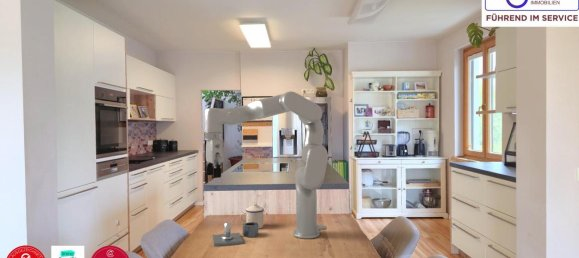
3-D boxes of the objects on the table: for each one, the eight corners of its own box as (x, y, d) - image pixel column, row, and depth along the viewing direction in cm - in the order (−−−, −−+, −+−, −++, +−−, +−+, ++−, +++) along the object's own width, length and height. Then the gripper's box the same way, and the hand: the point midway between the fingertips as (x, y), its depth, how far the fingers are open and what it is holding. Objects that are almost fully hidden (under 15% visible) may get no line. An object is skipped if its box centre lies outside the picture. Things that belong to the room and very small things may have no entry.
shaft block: (239, 235, 152) (239, 218, 152) (243, 243, 140) (243, 225, 140) (212, 237, 148) (212, 220, 148) (214, 246, 137) (214, 227, 137)
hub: (256, 232, 156) (256, 221, 156) (259, 236, 150) (259, 225, 150) (242, 233, 154) (242, 222, 154) (244, 237, 148) (244, 226, 148)
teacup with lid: (264, 224, 170) (264, 201, 170) (263, 229, 161) (263, 205, 161) (240, 224, 170) (240, 201, 170) (239, 229, 161) (239, 205, 161)
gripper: (229, 136, 137) (228, 178, 136) (215, 136, 152) (215, 173, 151) (211, 136, 133) (211, 179, 133) (199, 136, 148) (199, 174, 147)
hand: (213, 176), depth 142 cm, fingers open, 9 cm apart
